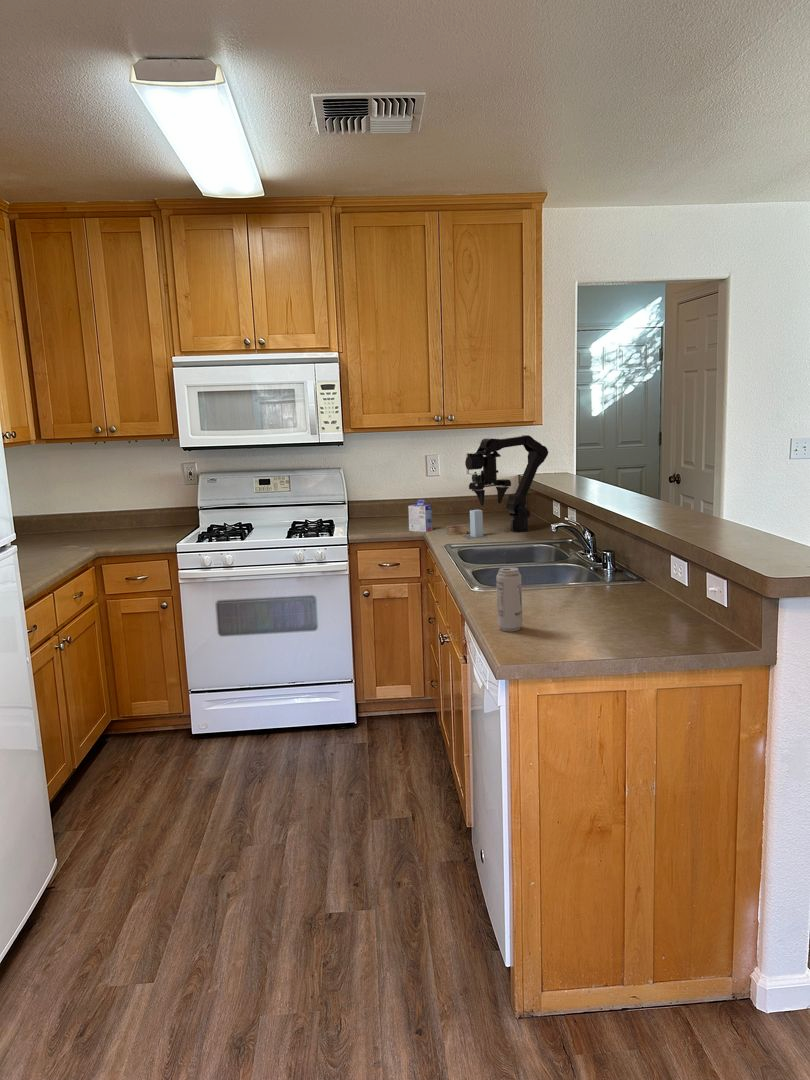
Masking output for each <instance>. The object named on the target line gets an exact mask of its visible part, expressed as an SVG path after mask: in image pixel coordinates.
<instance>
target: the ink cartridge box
mask: <svg viewBox="0 0 810 1080" xmlns="http://www.w3.org/2000/svg"><path fill="white" fill-rule="evenodd" d="M408 531H409V532H421V533H422V532H423V533H428V532H432V531H434V530H433V509H432V504H425V499H418V500H417V502H416V504H410V505H408Z"/></svg>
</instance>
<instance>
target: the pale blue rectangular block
mask: <svg viewBox="0 0 810 1080" xmlns="http://www.w3.org/2000/svg"><path fill="white" fill-rule="evenodd" d="M483 518H484V517H483V509H482V510H481V509H473V510H472V509H471V510H469V526H470V527H469V529H470V534H469V535H471V536H472V537H480V536H483V535H484V521H483V520H484V519H483Z"/></svg>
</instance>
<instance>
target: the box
mask: <svg viewBox="0 0 810 1080" xmlns="http://www.w3.org/2000/svg"><path fill="white" fill-rule="evenodd" d="M467 532H468V531H467V527H466V526H465V525H450V526H446V534H447V535H448V536H464V535H463V534H465V535H468V533H467Z"/></svg>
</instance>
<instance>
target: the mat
mask: <svg viewBox="0 0 810 1080" xmlns="http://www.w3.org/2000/svg"><path fill="white" fill-rule="evenodd" d="M467 535H468V536H467ZM462 537H464V538H466V539H467V540H472V539H485V538H488V536H487V535H485V534H483V536H480V537H472V536H471V534H465V535H462Z"/></svg>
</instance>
